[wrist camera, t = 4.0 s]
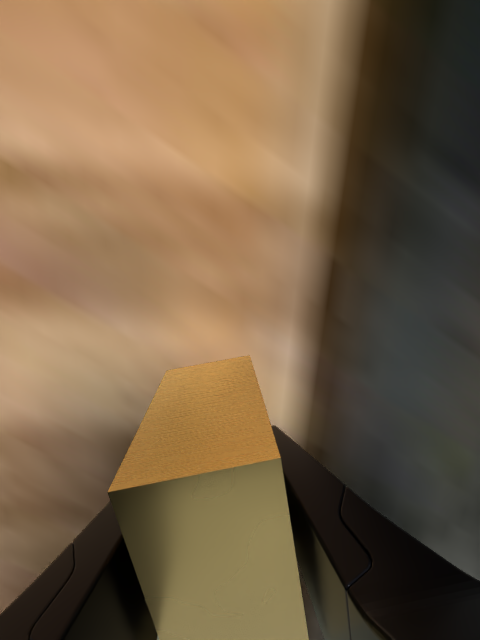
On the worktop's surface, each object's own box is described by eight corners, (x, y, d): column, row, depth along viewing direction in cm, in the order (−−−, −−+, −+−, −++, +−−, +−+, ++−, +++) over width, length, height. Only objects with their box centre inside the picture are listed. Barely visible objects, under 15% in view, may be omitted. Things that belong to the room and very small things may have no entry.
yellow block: (249, 355, 9) (280, 457, 5) (268, 470, 11) (310, 650, 6) (166, 370, 9) (107, 492, 4) (195, 485, 10) (173, 680, 6)
